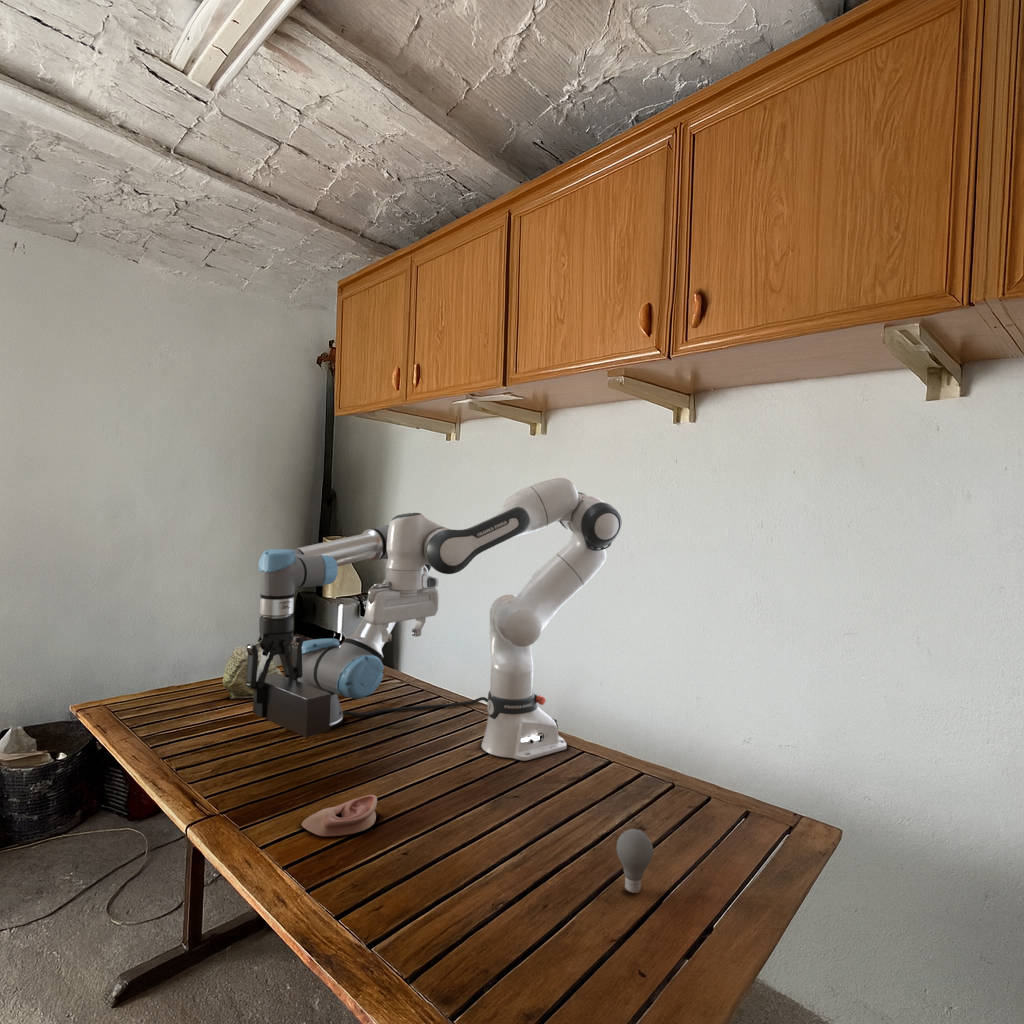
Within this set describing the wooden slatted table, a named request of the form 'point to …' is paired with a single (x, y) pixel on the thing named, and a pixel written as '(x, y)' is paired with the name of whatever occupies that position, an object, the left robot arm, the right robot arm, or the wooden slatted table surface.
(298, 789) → the wooden slatted table surface
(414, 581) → the right robot arm
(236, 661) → the fossil
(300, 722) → the box
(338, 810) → the anatomical model
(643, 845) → the light bulb
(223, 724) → the wooden slatted table surface
